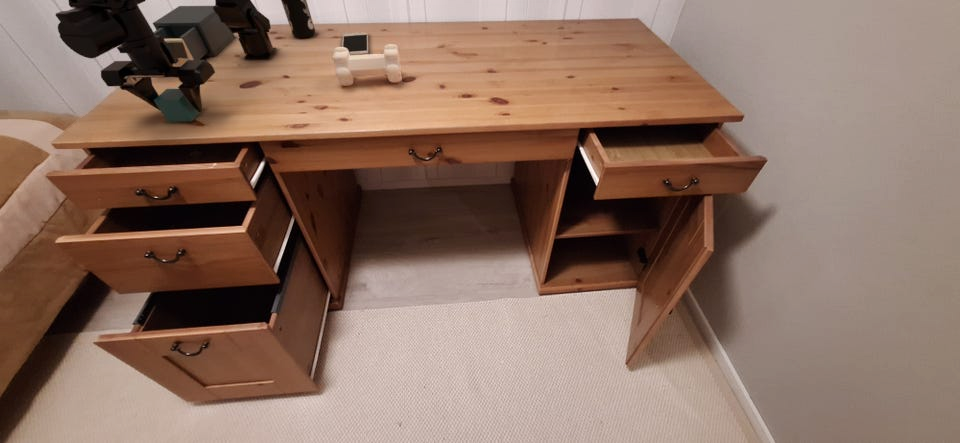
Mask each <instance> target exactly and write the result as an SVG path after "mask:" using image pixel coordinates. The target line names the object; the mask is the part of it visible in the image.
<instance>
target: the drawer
mask: <svg viewBox="0 0 960 443" xmlns="http://www.w3.org/2000/svg"><path fill="white" fill-rule="evenodd" d="M153 32H154V34H155V36H160V35H161V37H163V38H164V40H165V42H183V44H184V47H185V50H186V53H187V56H188V58H187V59H185V58H178V60H179V62H177V63H176V64H173V67H181V66H182V65H183V64H184V63H185V62H186V61H188V60H202V58H203V57H205V56H204V55H205V54H206V53H207V52H208V51H210V50H209V49H208V47H207V45H206V43H205V41H204V39H203V37H202V35H201V33H200V31H199V29H198V27H197V26H162V27H161V28H159V29H158V30H156V29H155V31H153Z"/></svg>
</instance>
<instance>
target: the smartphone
mask: <svg viewBox="0 0 960 443" xmlns="http://www.w3.org/2000/svg"><path fill="white" fill-rule="evenodd" d="M341 42H342V43H341V47H345V48H347V49H348V51H349V54H350V55H366V54H370V52H369V33H368V32H367V31H365V32H351V33H350V32H349V33H343V34H342V41H341Z"/></svg>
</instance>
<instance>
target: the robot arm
mask: <svg viewBox="0 0 960 443" xmlns="http://www.w3.org/2000/svg"><path fill="white" fill-rule="evenodd" d="M214 1H215V2H214V3H215V5H212V6H213V9H214V11H215V12H216V13H217V15H218V16H219V18H220V20H221V23H225V25H226V26H227V27H228V28H229V30H230V31H231V32H232V33H233V34H237V35H238V37H239V38H238V42H239V43H240V46H241V48H242V50H243V53H244V55H245V56H244V59H245V60H268V59H270V58H271V57H272V56H273V54H275V52H276V51H277V47H273V44H272V41H271V39H270V36H269V32H270V30H271V27H272V26H271V22H270V19H269V18H268V17H267V16H266V15H264V14H263V13H261V11H259V10H258V9H257V7H256V6H255V5H254V3H253V2H252V0H214ZM144 2H146V0H68V6H69V7H70V8H71V9H69V10H62V11H59V12H56V13H55V17H56V18H57V20H58V21H59V22H58V24H57V32H58V34H59V38H60V39H61V41H62V42H63V43H64V44H65V45H66V47H68V48H69V49H70V50H71V51H73V52H74V53H76V54H78V55H79V56H81V57H83V58H87V59H97V58H98V57H100V56H102V55H104V54H105V53H108V52H110V51H112V50H113V49H115V48H116V49H117V50H118V52H119V53H120V54H126V55H127V57H128V58H129V59H130V60H114V61H113V62H111V63H110V64H109V65H106V67H104V68H102V69H101V70H100V78H101V80H102V81H103V82H104V83H105V85H106V86H107V87H119V89H121V90H122V91H127V92H128V93H130V94H132V96H133V95H134V96H135V97H137V98H139V99H140V100H142V101H143V102H146V103H147V104H148V105H151V106H152V107H153V108H155V109H157V110H158V111H160V109H159V108H158V106H157V105H156V103H155V102H154V100H155V99H156V98H157V97H158V96H159V95H160V94H159V93H158V92H157V90H156V88H155V87H154V86H153V81H152V80H153V78H177V79H178V80H179V82H180V85H179V86H178V87H177V89H180V91H181V92H182V93H183V94H184V96H185V97H186V98H187V99H188V101H189V102H190V103H191V104H192V106H193V107H194V108H195V109H196V110H197V111H198V112H200V113H201V112H202V111H203V110H202V109H203V102H202V95H201V85H204V84H206V83H207V82H208V81H209V80H210V79H211V78H212V77H213V75H214V74H215V73H216V70H215V69H214V66H213V64H212V63H211V62H209V61H208V60H206V59H200V60H188V61H186V62H185V63H184V64H183V65H182V66H181V67H173V64H176V63H177V62H179V60H178V58H185V59H187V58H188V56H187V53H186V50H185V47H184V44H183V42H165V40H164V38H163V37H161V35H160V36H155V34H154V32H155V31H153V29H152V27H151V25H150V24H149V22H148V20H147V18H146V17H145V15H144V14H143V11H142V10H141V8H140V7H139V5H140V4H142V3H144Z"/></svg>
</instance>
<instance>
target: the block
mask: <svg viewBox="0 0 960 443" xmlns="http://www.w3.org/2000/svg"><path fill="white" fill-rule="evenodd" d="M158 95H159V96H158V97H157V98H156V99H155V100H154V102H155V103H156V105H157V106H158V108H159V109H160V110H159V111H160V112H161V114H162V115H163V117H164V118H165V120H166V121H167V123H187V122H188V123H190V122H191V123H192V122H193V121H194V120H195V119H196V118H197V117H198V116H199V114H200V113H201V112H198V111H197V110H196V109H195V108H194V107H193V106H192V104H191V103H190V102H189V101H188V99H187V98H186V97H185V96H184V94H183V93H182V92H181V91H180V89H179V88H165V90H164V91H163V92H161V93H160V94H158ZM202 111H203V108H202Z"/></svg>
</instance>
